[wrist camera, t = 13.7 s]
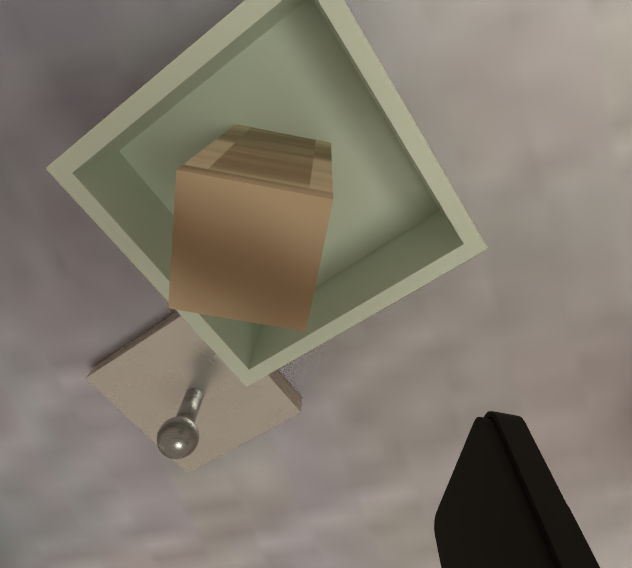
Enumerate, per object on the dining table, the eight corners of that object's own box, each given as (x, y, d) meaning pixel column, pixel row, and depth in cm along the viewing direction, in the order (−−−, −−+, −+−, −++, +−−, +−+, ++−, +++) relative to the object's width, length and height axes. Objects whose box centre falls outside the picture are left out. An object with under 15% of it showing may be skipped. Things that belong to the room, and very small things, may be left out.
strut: (235, 124, 25) (176, 169, 15) (330, 142, 25) (332, 199, 15) (225, 216, 27) (168, 308, 17) (313, 232, 27) (306, 331, 18)
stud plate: (208, 290, 30) (179, 348, 24) (302, 397, 33) (296, 471, 27) (95, 364, 33) (44, 433, 27) (192, 457, 36) (166, 536, 30)
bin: (315, -30, 23) (311, -57, 17) (456, 209, 27) (488, 248, 22) (103, 144, 26) (45, 168, 21) (260, 328, 31) (246, 387, 26)
